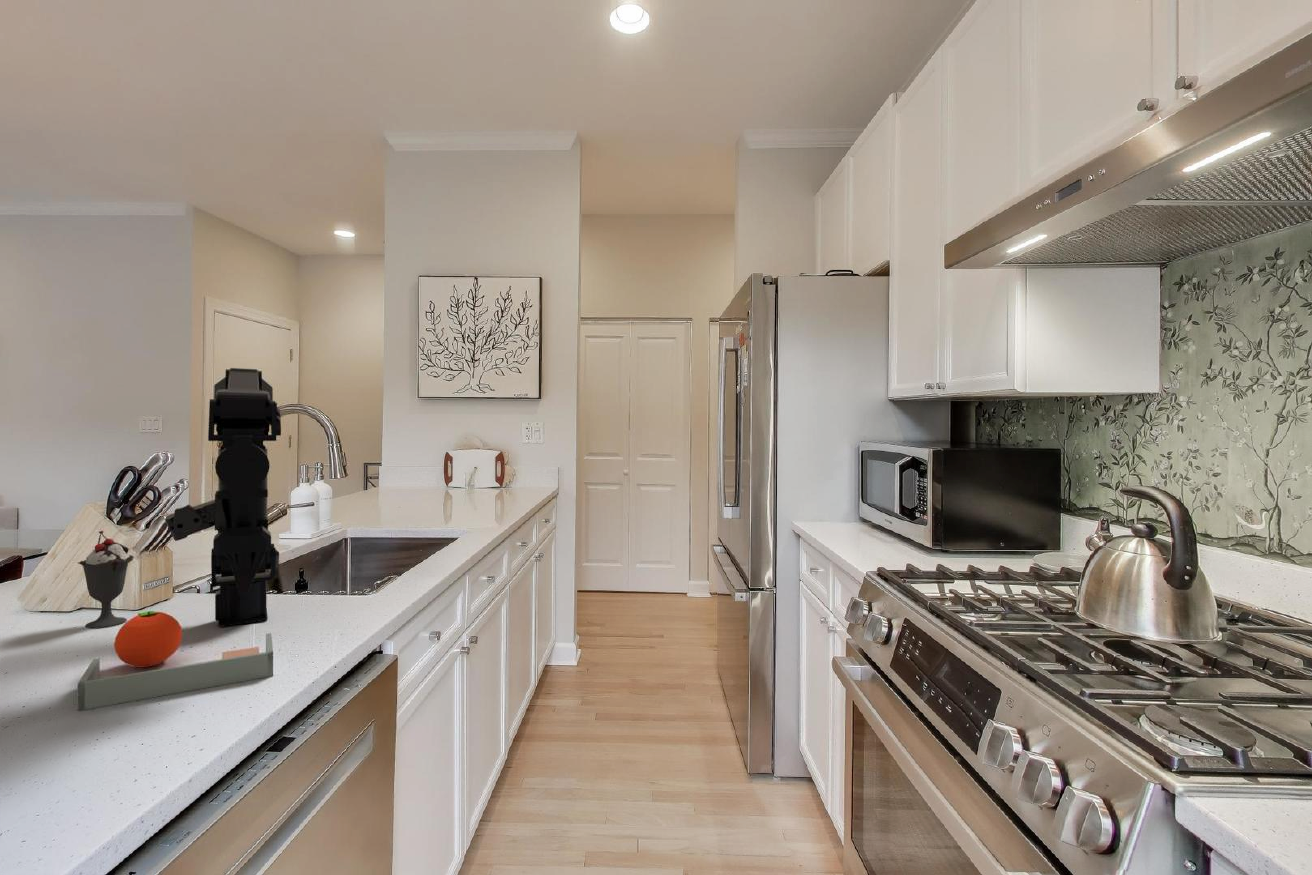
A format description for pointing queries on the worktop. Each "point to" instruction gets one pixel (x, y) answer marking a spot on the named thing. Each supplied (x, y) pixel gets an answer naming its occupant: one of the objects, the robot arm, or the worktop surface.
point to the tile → (240, 652)
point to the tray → (170, 679)
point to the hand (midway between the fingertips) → (243, 592)
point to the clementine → (148, 639)
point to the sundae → (106, 578)
